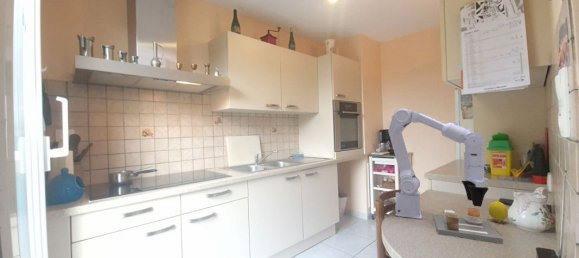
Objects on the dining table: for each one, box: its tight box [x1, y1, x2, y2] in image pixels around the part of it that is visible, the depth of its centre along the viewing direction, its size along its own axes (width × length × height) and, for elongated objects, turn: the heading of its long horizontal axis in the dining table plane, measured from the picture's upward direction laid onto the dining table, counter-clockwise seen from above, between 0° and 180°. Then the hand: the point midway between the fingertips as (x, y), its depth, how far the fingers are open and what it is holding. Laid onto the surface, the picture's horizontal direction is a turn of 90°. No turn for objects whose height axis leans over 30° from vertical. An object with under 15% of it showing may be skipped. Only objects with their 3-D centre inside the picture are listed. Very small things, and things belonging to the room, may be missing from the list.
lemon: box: [488, 200, 509, 223], centre depth 92 cm, size 6×6×8 cm
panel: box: [432, 214, 504, 244], centre depth 85 cm, size 17×16×2 cm
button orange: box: [466, 207, 481, 218], centre depth 88 cm, size 4×4×2 cm
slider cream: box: [443, 209, 456, 223], centre depth 87 cm, size 3×3×4 cm
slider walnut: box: [446, 214, 460, 230], centre depth 82 cm, size 3×3×4 cm
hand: (474, 203), depth 88 cm, fingers open, 7 cm apart
